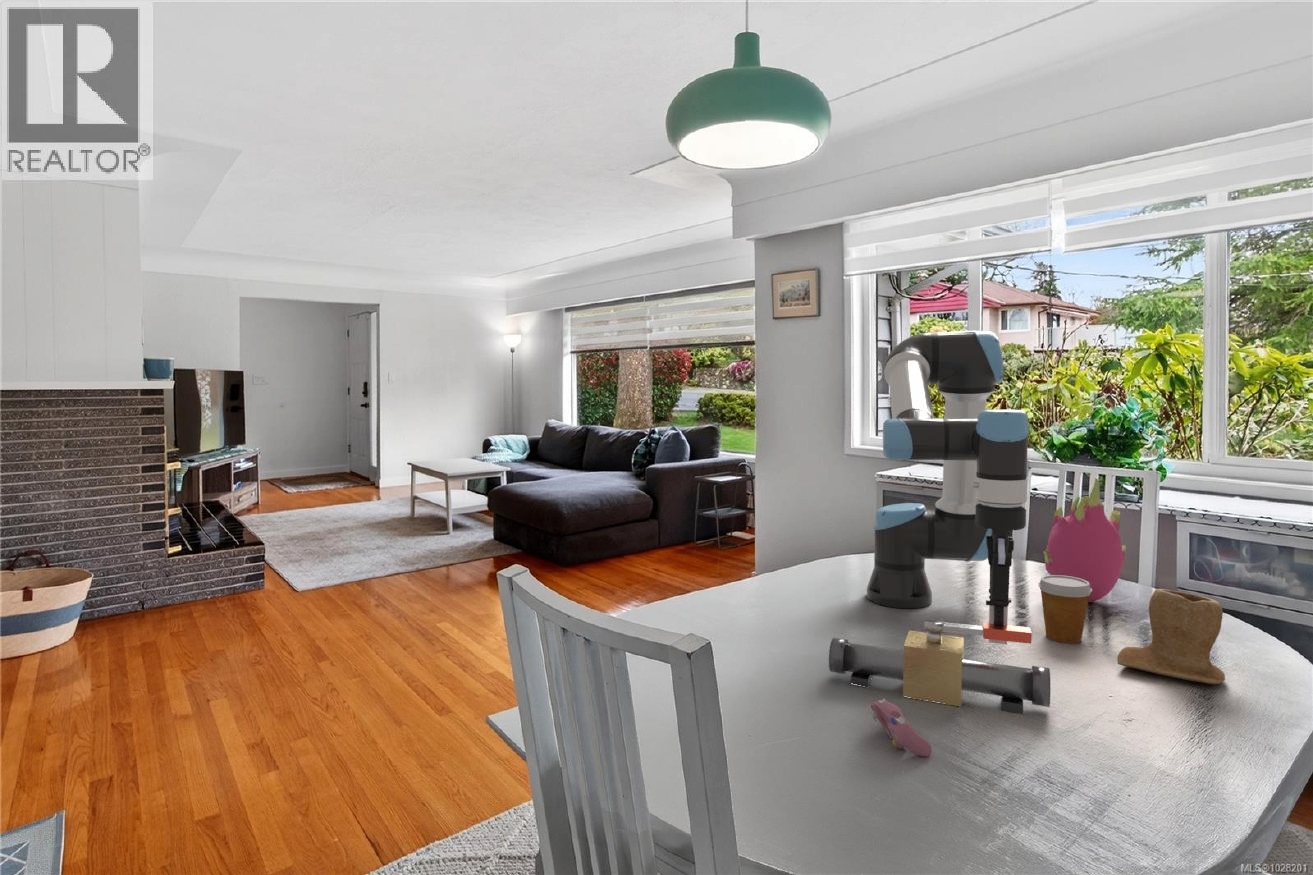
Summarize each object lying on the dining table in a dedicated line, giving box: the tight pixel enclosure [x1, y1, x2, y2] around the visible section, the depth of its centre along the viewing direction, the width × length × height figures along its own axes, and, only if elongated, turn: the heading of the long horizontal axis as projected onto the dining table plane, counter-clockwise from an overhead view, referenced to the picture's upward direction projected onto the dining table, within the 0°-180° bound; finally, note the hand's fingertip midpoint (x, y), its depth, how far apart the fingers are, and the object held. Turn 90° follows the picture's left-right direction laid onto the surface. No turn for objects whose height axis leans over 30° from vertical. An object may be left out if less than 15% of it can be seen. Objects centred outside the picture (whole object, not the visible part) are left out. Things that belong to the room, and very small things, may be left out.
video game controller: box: [870, 697, 933, 757], centre depth 103 cm, size 10×5×7 cm, turn 6°
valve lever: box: [923, 619, 1033, 644], centre depth 117 cm, size 16×3×2 cm, turn 69°
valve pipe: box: [828, 630, 1051, 715], centre depth 119 cm, size 8×34×11 cm, turn 64°
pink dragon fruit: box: [1043, 478, 1127, 603], centre depth 166 cm, size 18×14×30 cm
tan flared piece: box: [1116, 588, 1226, 685], centre depth 126 cm, size 15×12×15 cm
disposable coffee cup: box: [1038, 574, 1092, 644], centre depth 144 cm, size 10×10×12 cm
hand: (997, 641), depth 117 cm, fingers closed
